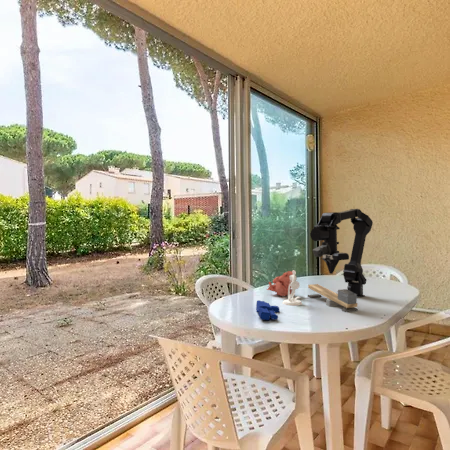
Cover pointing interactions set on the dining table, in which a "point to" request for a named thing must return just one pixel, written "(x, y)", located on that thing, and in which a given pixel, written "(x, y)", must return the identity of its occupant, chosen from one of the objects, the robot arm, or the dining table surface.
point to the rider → (347, 296)
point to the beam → (329, 295)
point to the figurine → (294, 286)
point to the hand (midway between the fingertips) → (331, 273)
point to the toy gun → (266, 310)
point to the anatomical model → (281, 284)
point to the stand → (334, 303)
